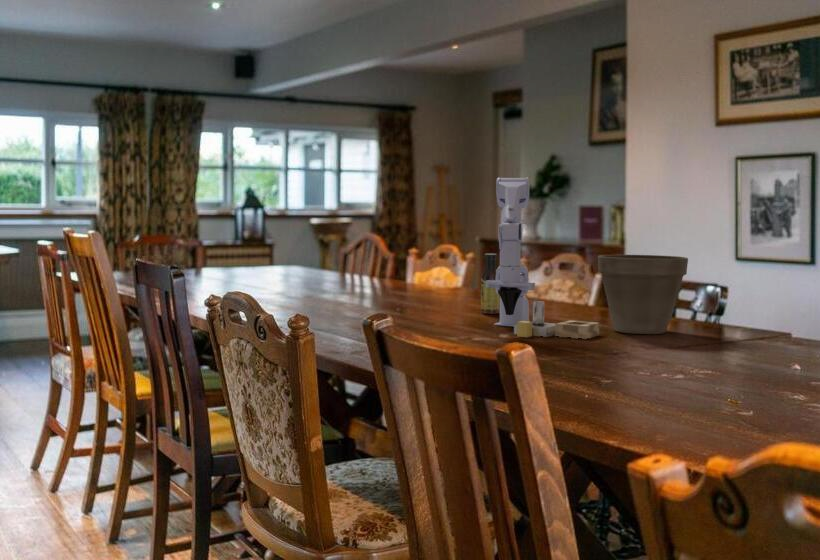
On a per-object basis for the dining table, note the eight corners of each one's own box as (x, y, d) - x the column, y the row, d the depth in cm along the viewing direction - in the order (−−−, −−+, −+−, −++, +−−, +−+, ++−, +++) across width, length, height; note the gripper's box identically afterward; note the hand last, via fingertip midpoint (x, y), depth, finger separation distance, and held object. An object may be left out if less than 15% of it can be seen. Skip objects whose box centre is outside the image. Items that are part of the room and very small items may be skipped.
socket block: (530, 330, 275) (530, 321, 274) (562, 332, 269) (562, 324, 269) (514, 334, 266) (514, 325, 266) (546, 337, 261) (546, 328, 260)
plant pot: (652, 324, 288) (654, 252, 286) (704, 334, 265) (706, 257, 263) (580, 327, 280) (581, 254, 278) (627, 339, 257) (628, 259, 255)
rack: (569, 332, 269) (569, 320, 269) (599, 335, 264) (599, 322, 264) (555, 336, 262) (555, 323, 262) (585, 339, 257) (585, 326, 256)
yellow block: (522, 335, 264) (522, 320, 264) (532, 336, 263) (532, 321, 262) (517, 336, 262) (517, 322, 261) (526, 337, 260) (527, 322, 260)
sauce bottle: (483, 312, 319) (483, 253, 318) (501, 312, 317) (502, 253, 316) (478, 314, 313) (479, 254, 312) (497, 315, 311) (497, 254, 310)
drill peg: (535, 332, 270) (536, 300, 269) (545, 333, 268) (546, 301, 267) (530, 333, 267) (530, 301, 266) (540, 334, 265) (541, 302, 265)
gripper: (480, 265, 264) (479, 314, 265) (526, 268, 256) (526, 318, 257) (492, 264, 270) (492, 311, 271) (538, 266, 262) (538, 315, 263)
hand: (509, 314), depth 265 cm, fingers closed
